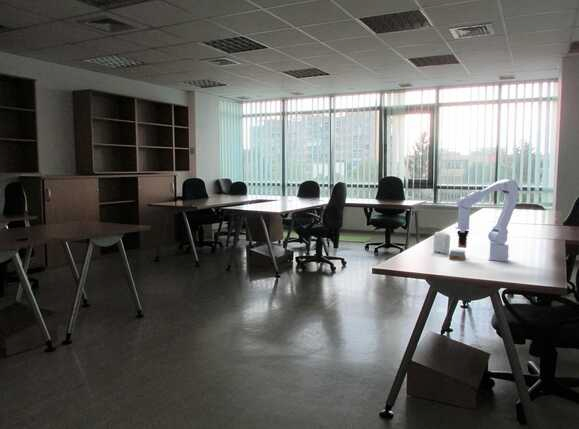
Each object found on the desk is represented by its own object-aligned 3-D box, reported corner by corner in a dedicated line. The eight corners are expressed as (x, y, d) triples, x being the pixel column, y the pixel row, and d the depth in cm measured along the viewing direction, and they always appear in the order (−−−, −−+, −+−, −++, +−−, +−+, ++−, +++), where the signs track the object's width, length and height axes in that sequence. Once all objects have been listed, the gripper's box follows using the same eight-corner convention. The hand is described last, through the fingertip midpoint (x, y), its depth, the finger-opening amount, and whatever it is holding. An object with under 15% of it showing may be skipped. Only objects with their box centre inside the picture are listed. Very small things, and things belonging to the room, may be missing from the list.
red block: (466, 246, 261) (466, 237, 261) (466, 247, 258) (466, 238, 257) (458, 246, 263) (459, 237, 262) (458, 247, 259) (458, 238, 259)
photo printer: (450, 253, 280) (451, 232, 278) (445, 254, 278) (446, 233, 276) (437, 250, 289) (438, 230, 287) (432, 251, 287) (433, 230, 285)
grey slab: (464, 254, 266) (464, 250, 266) (463, 256, 260) (463, 252, 259) (451, 253, 269) (451, 249, 269) (450, 255, 262) (450, 251, 262)
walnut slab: (465, 259, 267) (465, 254, 266) (464, 261, 259) (464, 256, 259) (450, 257, 270) (450, 253, 270) (449, 260, 262) (449, 255, 262)
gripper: (456, 217, 267) (455, 241, 268) (455, 220, 254) (453, 245, 255) (470, 218, 264) (469, 242, 266) (469, 221, 251) (468, 246, 252)
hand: (462, 244), depth 260 cm, fingers closed on red block, 4 cm apart
